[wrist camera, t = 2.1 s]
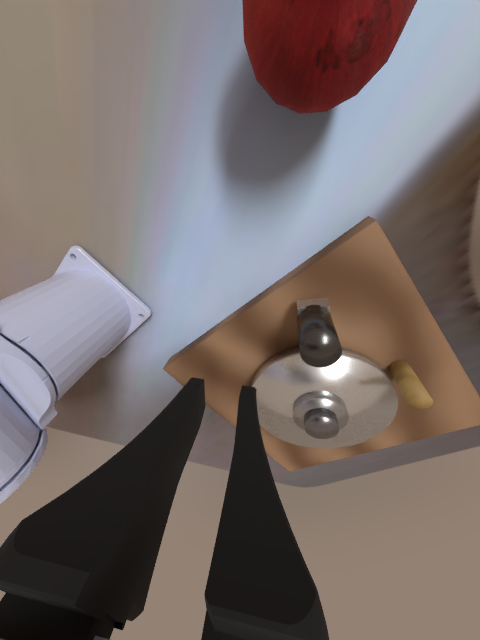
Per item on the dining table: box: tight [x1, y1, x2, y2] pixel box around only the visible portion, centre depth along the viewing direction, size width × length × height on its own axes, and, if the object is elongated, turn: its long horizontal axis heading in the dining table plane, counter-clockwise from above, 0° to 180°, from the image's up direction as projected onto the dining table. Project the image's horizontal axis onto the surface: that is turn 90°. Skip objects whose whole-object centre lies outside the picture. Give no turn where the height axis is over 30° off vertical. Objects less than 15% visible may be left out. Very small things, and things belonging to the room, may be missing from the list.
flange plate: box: [251, 298, 398, 449], centre depth 18 cm, size 16×12×4 cm
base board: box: [163, 216, 480, 471], centre depth 20 cm, size 21×21×5 cm
